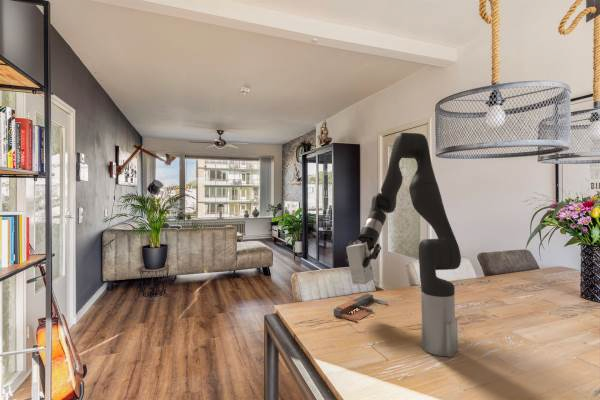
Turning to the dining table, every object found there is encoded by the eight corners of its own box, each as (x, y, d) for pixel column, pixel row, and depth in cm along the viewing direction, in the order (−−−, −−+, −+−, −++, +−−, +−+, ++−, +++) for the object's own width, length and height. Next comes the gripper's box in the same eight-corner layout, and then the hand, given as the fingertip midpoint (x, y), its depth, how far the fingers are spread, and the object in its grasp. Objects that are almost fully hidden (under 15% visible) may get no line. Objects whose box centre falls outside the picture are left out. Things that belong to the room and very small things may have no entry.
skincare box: (366, 284, 118) (359, 245, 119) (351, 284, 121) (345, 246, 122) (374, 279, 125) (368, 242, 126) (360, 279, 128) (354, 243, 129)
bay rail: (367, 299, 141) (366, 292, 141) (387, 304, 134) (387, 297, 134) (333, 315, 122) (333, 308, 122) (355, 322, 115) (355, 314, 115)
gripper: (352, 225, 133) (336, 257, 124) (383, 227, 123) (368, 262, 114) (359, 236, 137) (344, 268, 128) (390, 238, 127) (376, 273, 118)
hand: (355, 265), depth 121 cm, fingers closed on skincare box, 6 cm apart
